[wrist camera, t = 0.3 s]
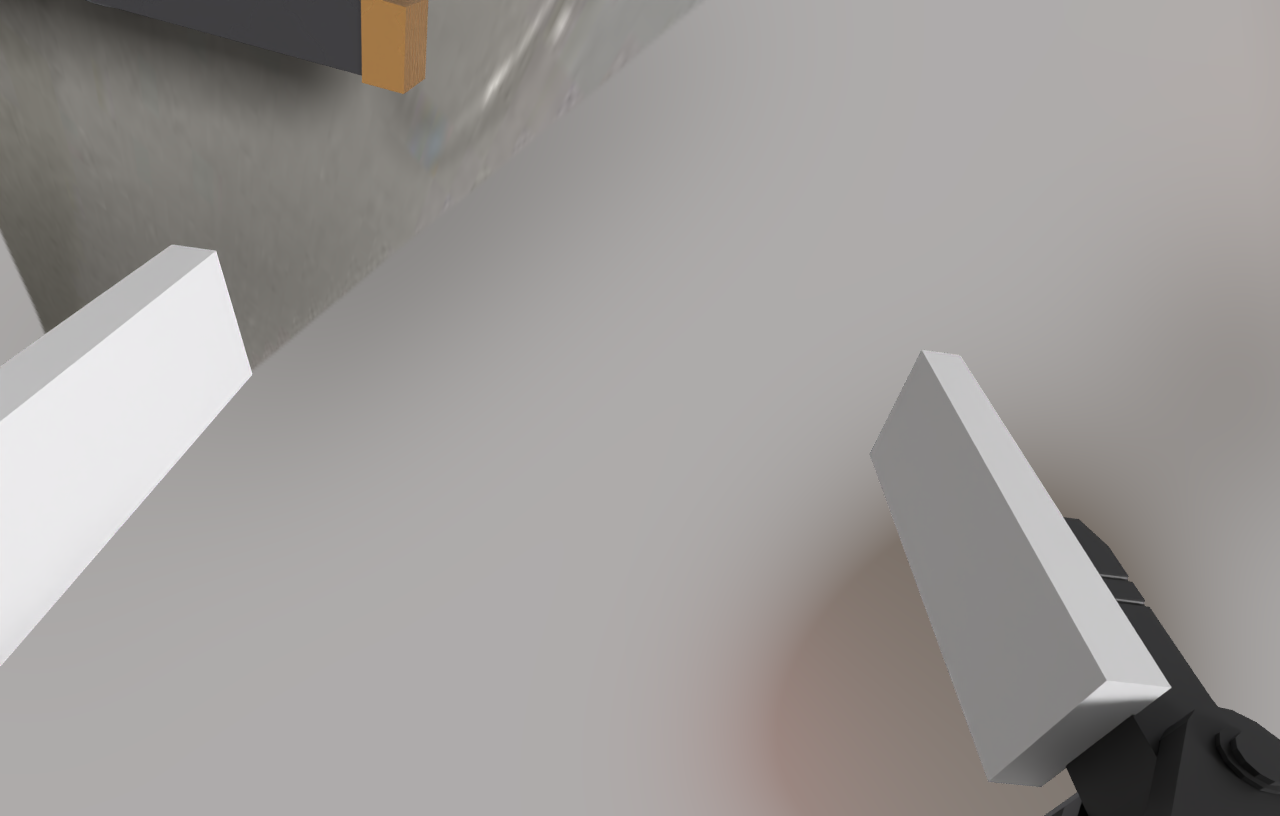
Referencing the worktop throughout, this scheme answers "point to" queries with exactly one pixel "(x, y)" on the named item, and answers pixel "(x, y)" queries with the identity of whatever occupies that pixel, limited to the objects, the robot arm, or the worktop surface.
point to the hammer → (313, 31)
